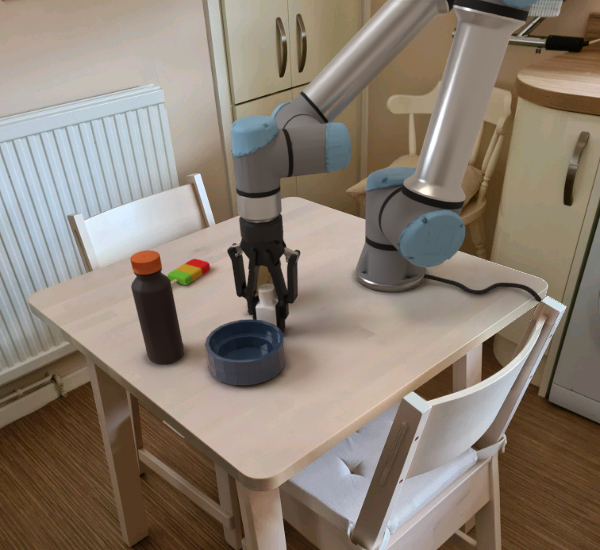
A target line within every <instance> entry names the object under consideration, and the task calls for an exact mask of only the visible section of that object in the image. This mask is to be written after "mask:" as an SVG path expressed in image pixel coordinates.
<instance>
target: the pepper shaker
mask: <svg viewBox="0 0 600 550" xmlns="http://www.w3.org/2000/svg"><path fill="white" fill-rule="evenodd" d="M258 292H259V298H260V300H259V302H258V303H257V305H256V316H257V320H262V321H266V322H269V323H271V324H274V325H275V326H277V323H276V309H275V305H276V304H277V302H278V298H277V295H276V293H275V288H274V285H272V284H263V285H260V286H259V287H258Z"/></svg>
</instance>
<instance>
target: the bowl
mask: <svg viewBox="0 0 600 550" xmlns="http://www.w3.org/2000/svg"><path fill="white" fill-rule="evenodd" d="M204 347H205V354H206V359H207V366H208V370H209V373H210V374H211V375H212V376H213V378H215V379H217V381H220V382H222V383H225V384H228V385H233V386H253V385H257V384H261V383H264V382H267V381H269V380H271V379H273V378H274V377H276V376H277V375H278V374H279V373H281V372H282V370H283V368H284V367H285V365H286V350H285V349H286V348H285V336H284V333H282V332H281V330H280V329H279V328H278V327H277V326H275V325H274V324H271V323H269V322H266V321H262V320H255V319H253V318H252V319H238V320H233V321H228V322H226V323H223V324H221V325H219V326H217V327H216V328H215V329H213V330H212V331H210V333H209V334H208V336H206V339H205V343H204Z"/></svg>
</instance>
